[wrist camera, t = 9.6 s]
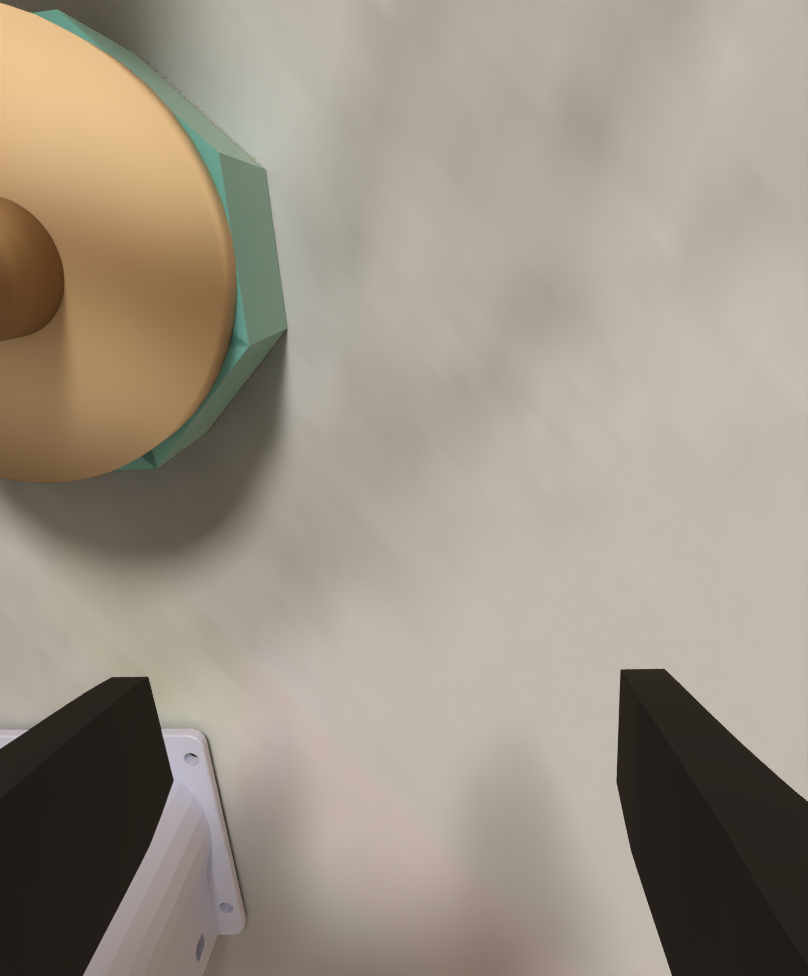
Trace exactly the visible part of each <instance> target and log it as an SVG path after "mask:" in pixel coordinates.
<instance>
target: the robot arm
mask: <svg viewBox="0 0 808 976" xmlns="http://www.w3.org/2000/svg"><path fill="white" fill-rule="evenodd" d="M190 753H192V754H195V755H196V756H197V757H194V756H192V755H191V754H190ZM617 786H618V791H619V796H620V801H621V806H622V810H623V815H624V820H625V825H626V829H627V834H628V838H629V843H630V847H631V852H632V855H633V858H634V861H635V864H636V868H637V871H638V874H639V877H640V880H641V883H642V886H643V889H644V892H645V895H646V898H647V901H648V904H649V907H650V910H651V914H652V917H653V920H654V923H655V926H656V929H657V932H658V935H659V938H660V941H661V944H662V947H663V950H664V953H665V956H666V959H667V962H668V965H669V968H670V971H671V974H672V976H808V801H806V800H805V799H804V798H803V797H801V796H800V795H799V794H798V793H797V792H795V791H794V790H793V789H792V788H791V787H790V786H789V785H787V784H786V783H785V782H784V781H783V780H782V779H780V778H779V777H778V776H777V775H776V774H775V773H774V772H773V771H772V770H770V769H769V768H768V767H767V766H766V765H765V764H764V763H763V762H762V761H760V760H759V759H758V758H757V757H756V756H755V755H754V754H753V753H752V752H750V751H749V750H748V749H747V748H746V747H745V746H744V745H743V744H742V743H741V742H740V741H739V740H737V739H736V738H735V737H734V736H733V735H732V734H731V733H730V732H729V731H728V730H727V729H726V728H725V727H724V726H723V725H722V724H721V723H720V722H719V721H718V720H716V719H715V718H714V717H713V716H712V715H711V714H710V713H709V712H708V711H707V710H706V709H705V708H704V707H703V706H702V705H701V704H700V703H699V702H698V701H697V700H696V699H695V698H694V697H693V696H692V695H691V694H690V693H689V692H688V691H687V690H686V689H685V688H684V687H683V686H682V685H681V684H680V683H679V682H677V681H676V680H675V679H674V678H673V677H672V676H671V675H670V674H669V673H668V672H667V671H666V670H665V669H625V670H621V673H620V701H619V728H618V756H617ZM245 923H246V916H245V911H244V907H243V902H242V898H241V893H240V889H239V884H238V880H237V875H236V871H235V866H234V862H233V857H232V853H231V848H230V844H229V839H228V835H227V830H226V826H225V821H224V817H223V812H222V807H221V803H220V798H219V794H218V789H217V785H216V780H215V776H214V771H213V767H212V762H211V758H210V753H209V749H208V744H207V740H206V738H205V736H204V735H203V734H202V733H201V732H200V731H198V730H196V729H161V726H160V722H159V718H158V714H157V710H156V706H155V702H154V698H153V694H152V690H151V686H150V682H149V678H148V677H111V678H110V679H108V680H106V681H104V682H102V683H101V684H99V685H97V686H95V687H94V688H92V689H90V690H89V691H87V692H86V693H84V694H83V695H81V696H79V697H78V698H76V699H75V700H73V701H72V702H70V703H69V704H67V705H65V706H64V707H62V708H61V709H59V710H58V711H56V712H55V713H53V714H52V715H50V716H49V717H47V718H46V719H44V720H43V721H41V722H40V723H38V724H37V725H35V726H34V727H32V728H31V729H29V730H0V976H203V975H204V972H205V970H206V967H207V964H208V961H209V958H210V956H211V953H212V950H213V947H214V944H215V942H216V939H217V936H218V935H237V934H239V933H241V932H242V931H243V929H244V926H245Z"/></svg>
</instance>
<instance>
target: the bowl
mask: <svg viewBox="0 0 808 976" xmlns="http://www.w3.org/2000/svg"><path fill="white" fill-rule="evenodd" d="M32 14H35V15H38V16H40V17H42V18H44V19H46V20H48V21H50V22H52V23H54V24H56V25H58V26H60V27H62V28H64V29H66V30H68V31H69V32H71V33H73V34H75V35H77V36H79V37H81V38H82V39H84V40H86V41H88V42H90V43H92V44H94V45H96V46H97V47H99V48H100V49H102V50H103V51H105V52H106V53H108V54H109V55H111V56H112V57H114V58H115V59H116V60H118V61H119V62H121V63H122V64H124V65H125V66H126V67H127V68H129V69H130V70H131V71H132V72H133V73H134V74H135V75H137V76H138V77H139V78H140V79H141V80H142V81H143V82H145V83H146V84H147V85H148V86H149V87H150V88H151V89H152V90H153V91H154V92H155V93H156V94H157V95H158V97H159V98H160V99H161V100H162V101H163V102H164V103H165V104H166V105H167V107H168V108H169V109H170V110H171V111H172V112H173V113H174V115H175V116H176V117H177V119H178V120H179V122H180V123H181V125H182V126H183V127H184V129H185V130H186V132H187V133H188V134H189V136H190V137H191V139H192V140H193V142H194V143H195V145H196V147H197V149H198V151H199V152H200V154H201V156H202V158H203V160H204V161H205V163H206V165H207V167H208V169H209V170H210V173H211V175H212V178H213V180H214V183H215V185H216V187H217V190H218V192H219V195H220V197H221V199H222V202H223V206H224V209H225V213H226V216H227V220H228V223H229V227H230V230H231V235H232V241H233V247H234V253H235V260H236V275H237V301H236V314H235V323H234V327H233V332H232V337H231V341H230V346H229V349H228V352H227V355H226V358H225V360H224V363H223V366H222V369H221V372H220V374H219V376H218V377H217V379H216V381H215V383H214V385H213V387H212V389H211V391H210V393H209V394H208V396H207V397H206V399H205V400H204V401H203V403H202V404H201V405H200V407H199V408H198V409H197V411H196V412H195V413H194V415H193V416H192V417H191V418H190V419H189V420H188V421H187V422H186V423H185V424H184V425H183V426H182V427H181V428H180V429H179V430H178V431H177V432H175V433H174V434H173V435H171V436H170V437H168V438H167V439H166V440H164V441H163V442H162V443H160V444H159V445H158V446H156V447H155V448H153V449H151V450H150V451H148V452H147V453H145V454H144V455H142V456H141V457H139V458H137V459H136V460H134V461H132V462H130V463H128V464H126V465H124V466H122V467H120V468H118V469H116V470H113V471H123V470H143V469H157V468H159V467H160V466H161V465H163V464H164V463H165V462H167V461H168V460H170V459H171V458H172V457H174V456H175V455H176V454H178V453H179V452H180V451H182V450H183V449H185V448H186V447H187V446H189V445H190V444H191V443H193V442H194V441H196V440H197V439H198V438H200V437H201V436H202V435H204V434H205V433H206V432H208V430H209V429H210V428H211V427H212V425H213V424H214V423H215V421H216V420H217V419H218V417H219V416H220V415H221V413H222V412H223V411H224V410H225V408H226V407H227V406H228V404H229V403H230V402H231V400H232V399H233V398H234V397H235V395H236V394H237V393H238V391H239V390H240V389H241V387H242V386H243V385H244V383H245V382H246V381H247V380H248V378H249V377H250V376H251V374H252V373H253V372H254V370H255V369H256V368H257V367H258V365H259V364H260V363H261V361H262V360H263V359H264V357H265V356H266V355H267V353H268V352H269V351H270V350H271V348H272V347H273V346H274V344H275V343H276V342H277V340H278V339H279V338H280V337H281V335H282V334H283V333H284V331H285V330H286V329H287V323H286V316H285V308H284V301H283V294H282V286H281V279H280V271H279V264H278V257H277V249H276V242H275V235H274V227H273V220H272V212H271V205H270V198H269V190H268V183H267V176H266V170H265V169H264V168H263V167H262V166H261V165H260V164H259V163H258V162H256V161H255V160H254V159H253V158H252V157H251V156H250V155H249V154H247V153H246V152H245V151H244V150H243V149H242V148H241V147H240V146H239V145H237V144H236V143H235V142H234V141H233V140H232V139H231V138H230V137H229V136H227V135H226V134H225V133H224V132H223V131H222V130H221V129H220V128H218V127H217V126H216V125H215V124H214V123H213V122H212V121H211V120H210V119H208V118H207V117H206V116H205V115H204V114H203V113H202V112H201V111H199V110H198V109H197V108H196V107H195V106H194V105H193V104H192V103H191V102H189V101H188V100H187V99H186V98H185V97H184V96H183V95H182V94H180V93H179V92H178V91H177V90H176V89H175V88H174V87H173V86H172V85H170V84H169V83H168V82H167V81H166V80H165V79H164V78H163V77H161V76H160V75H159V74H158V73H157V72H156V71H155V70H154V69H153V68H151V67H150V66H149V65H148V64H147V63H146V62H145V61H144V60H143V59H141V58H140V57H139V56H138V55H136V54H135V53H133V52H131V51H129V50H128V49H126V48H124V47H122V46H121V45H119V44H117V43H116V42H114V41H112V40H110V39H109V38H107V37H105V36H103V35H102V34H100V33H98V32H96V31H95V30H93V29H91V28H89V27H88V26H86V25H84V24H83V23H81V22H79V21H77V20H76V19H74V18H72V17H70V16H69V15H67V14H65V13H63V12H62V11H60V10H58V9H56V10H48V11H40V12H33V13H32Z"/></svg>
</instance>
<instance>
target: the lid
mask: <svg viewBox="0 0 808 976" xmlns="http://www.w3.org/2000/svg"><path fill="white" fill-rule="evenodd" d="M236 301H237V275H236V260H235V253H234V247H233V241H232V235H231V230H230V227H229V223H228V220H227V216H226V213H225V209H224V206H223V202H222V199H221V197H220V195H219V192H218V190H217V187H216V185H215V183H214V180H213V178H212V175H211V173H210V170H209V169H208V167H207V165H206V163H205V161H204V160H203V158H202V156H201V154H200V152H199V151H198V149H197V147H196V145H195V143H194V142H193V140H192V139H191V137H190V136H189V134H188V133H187V132H186V130H185V129H184V127H183V126H182V125H181V123H180V122H179V120H178V119H177V117H176V116H175V115H174V113H173V112H172V111H171V110H170V109H169V108H168V107H167V105H166V104H165V103H164V102H163V101H162V100H161V99H160V98H159V97H158V95H157V94H156V93H155V92H154V91H153V90H152V89H151V88H150V87H149V86H148V85H147V84H146V83H145V82H143V81H142V80H141V79H140V78H139V77H138V76H137V75H135V74H134V73H133V72H132V71H131V70H130V69H129V68H127V67H126V66H125V65H124V64H122V63H121V62H119V61H118V60H116V59H115V58H114V57H112V56H111V55H109V54H108V53H106V52H105V51H103V50H102V49H100V48H99V47H97V46H96V45H94V44H92V43H90V42H88V41H86V40H84V39H82V38H81V37H79V36H77V35H75V34H73V33H71V32H69V31H68V30H66V29H64V28H62V27H60V26H58V25H56V24H54V23H52V22H50V21H48V20H46V19H44V18H42V17H40V16H38V15H35V14H32V13H29V12H26V11H24V10H21V9H18V8H15V7H12V6H9V5H6V4H2V3H0V477H1V478H6V479H11V480H16V481H23V482H37V483H56V482H72V481H77V480H82V479H87V478H92V477H96V476H99V475H102V474H105V473H107V472H110V471H113V470H116V469H118V468H120V467H122V466H124V465H126V464H128V463H130V462H132V461H134V460H136V459H137V458H139V457H141V456H142V455H144V454H145V453H147V452H148V451H150V450H151V449H153V448H155V447H156V446H158V445H159V444H160V443H162V442H163V441H164V440H166V439H167V438H168V437H170V436H171V435H173V434H174V433H175V432H177V431H178V430H179V429H180V428H181V427H182V426H183V425H184V424H185V423H186V422H187V421H188V420H189V419H190V418H191V417H192V416H193V415H194V413H195V412H196V411H197V409H198V408H199V407H200V405H201V404H202V403H203V401H204V400H205V399H206V397H207V396H208V394H209V393H210V391H211V389H212V387H213V385H214V383H215V381H216V379H217V377H218V376H219V374H220V372H221V369H222V366H223V363H224V360H225V358H226V355H227V352H228V349H229V346H230V341H231V337H232V332H233V327H234V323H235V314H236Z"/></svg>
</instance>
